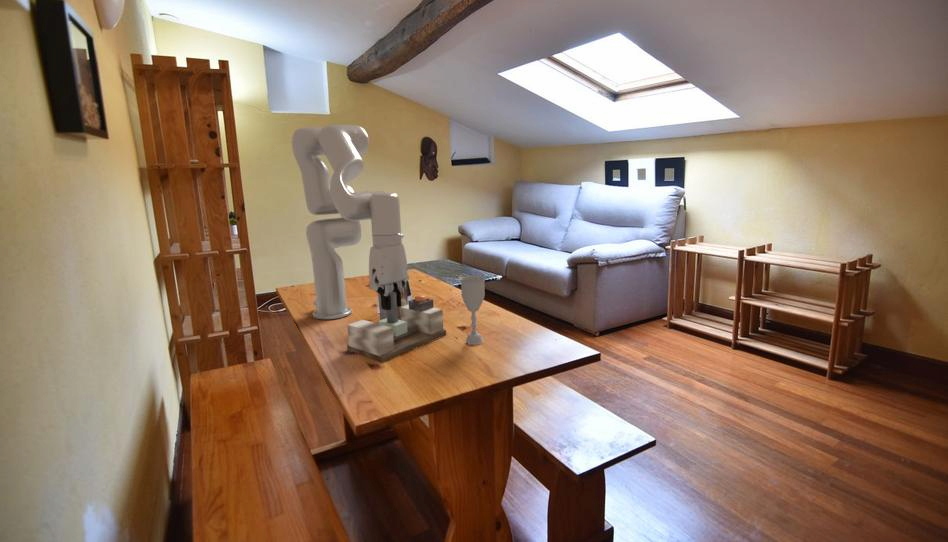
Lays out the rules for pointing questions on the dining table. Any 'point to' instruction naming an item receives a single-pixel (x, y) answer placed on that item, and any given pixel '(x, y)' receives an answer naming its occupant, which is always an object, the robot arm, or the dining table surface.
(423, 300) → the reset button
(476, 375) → the dining table surface
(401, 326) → the carriage
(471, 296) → the chalice
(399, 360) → the dining table surface
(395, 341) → the rail bed
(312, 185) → the robot arm
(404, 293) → the coffee box
